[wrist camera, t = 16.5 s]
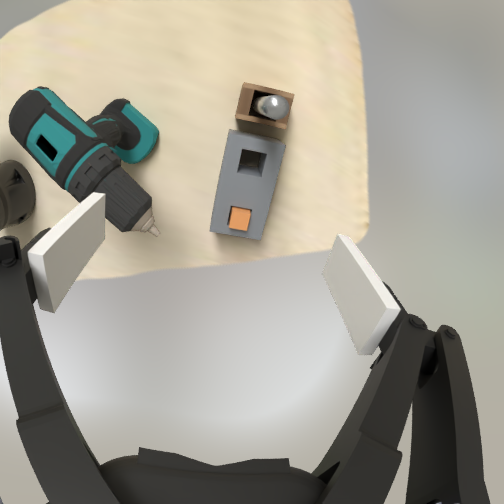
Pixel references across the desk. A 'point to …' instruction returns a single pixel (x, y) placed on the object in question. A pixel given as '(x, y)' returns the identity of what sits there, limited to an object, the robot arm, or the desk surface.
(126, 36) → the desk surface
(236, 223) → the plunger
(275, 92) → the hollow brown square tube
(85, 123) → the power drill
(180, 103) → the desk surface
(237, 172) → the socket block
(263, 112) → the cylinder
